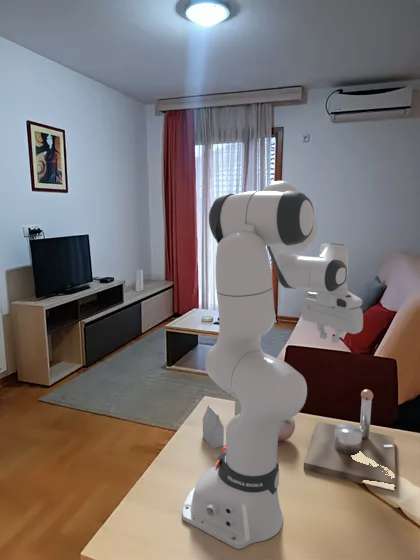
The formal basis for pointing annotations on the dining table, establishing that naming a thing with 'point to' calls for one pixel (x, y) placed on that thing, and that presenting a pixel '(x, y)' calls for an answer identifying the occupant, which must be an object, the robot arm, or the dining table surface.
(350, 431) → the crank handle
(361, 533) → the dining table surface
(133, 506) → the dining table surface
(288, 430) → the decorative fruit
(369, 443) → the stand
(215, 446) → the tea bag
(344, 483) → the dining table surface
